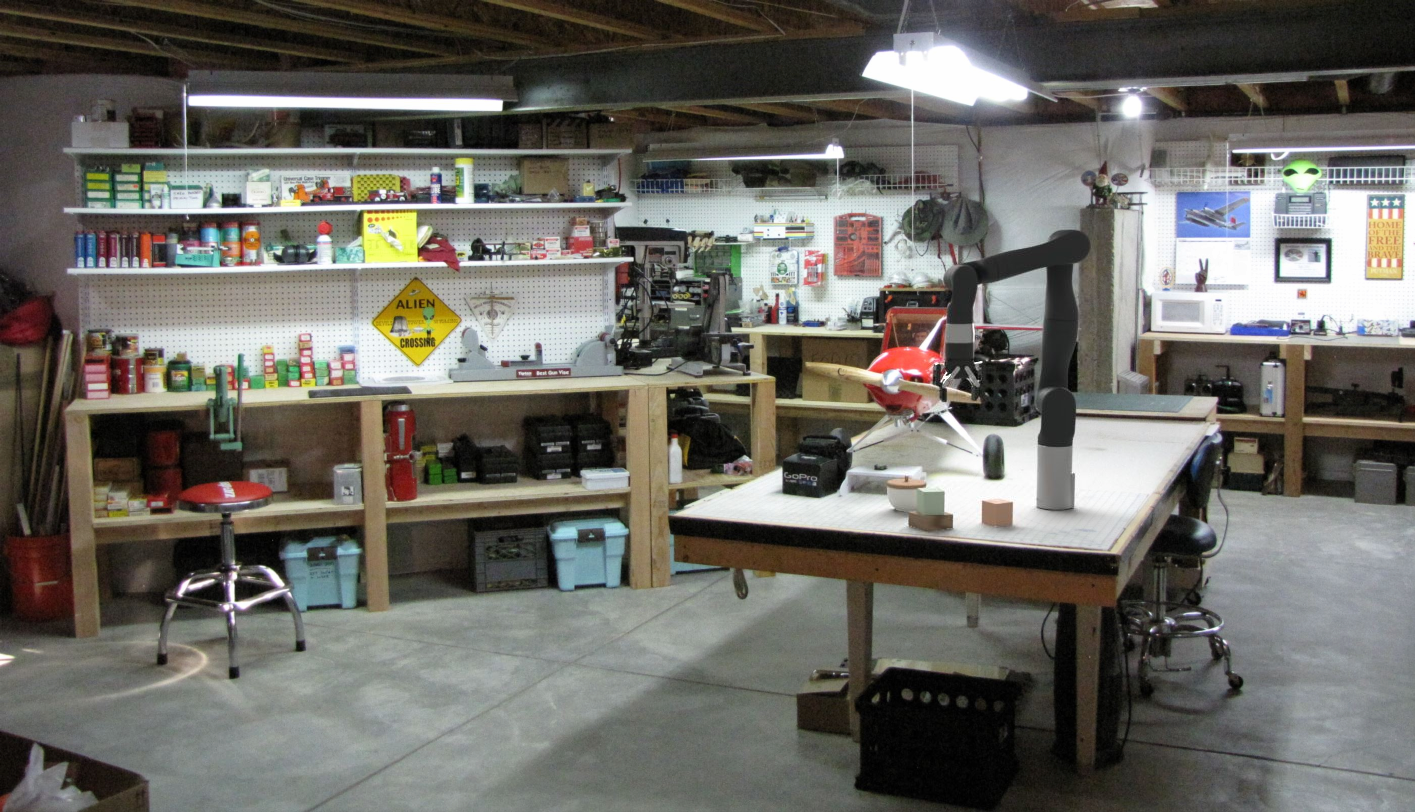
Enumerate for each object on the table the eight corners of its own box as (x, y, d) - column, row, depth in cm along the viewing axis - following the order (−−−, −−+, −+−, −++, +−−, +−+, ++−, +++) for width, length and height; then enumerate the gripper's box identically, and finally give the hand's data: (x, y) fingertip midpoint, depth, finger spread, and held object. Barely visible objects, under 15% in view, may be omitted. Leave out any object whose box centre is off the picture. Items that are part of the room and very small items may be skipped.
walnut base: (933, 523, 318) (933, 508, 318) (952, 529, 311) (953, 514, 311) (908, 527, 315) (908, 511, 314) (927, 533, 308) (927, 517, 307)
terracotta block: (998, 521, 319) (998, 498, 319) (1012, 524, 315) (1012, 501, 314) (981, 523, 317) (982, 500, 316) (995, 527, 312) (995, 504, 311)
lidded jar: (879, 507, 338) (879, 474, 337) (913, 504, 342) (913, 471, 341) (898, 515, 328) (899, 480, 327) (933, 511, 332) (934, 477, 331)
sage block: (937, 510, 316) (937, 487, 315) (944, 514, 310) (944, 491, 310) (916, 511, 315) (917, 488, 314) (923, 515, 310) (923, 492, 309)
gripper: (979, 339, 330) (978, 399, 332) (929, 340, 327) (928, 400, 329) (990, 340, 323) (989, 402, 325) (939, 342, 320) (939, 404, 322)
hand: (959, 401), depth 327 cm, fingers open, 8 cm apart
